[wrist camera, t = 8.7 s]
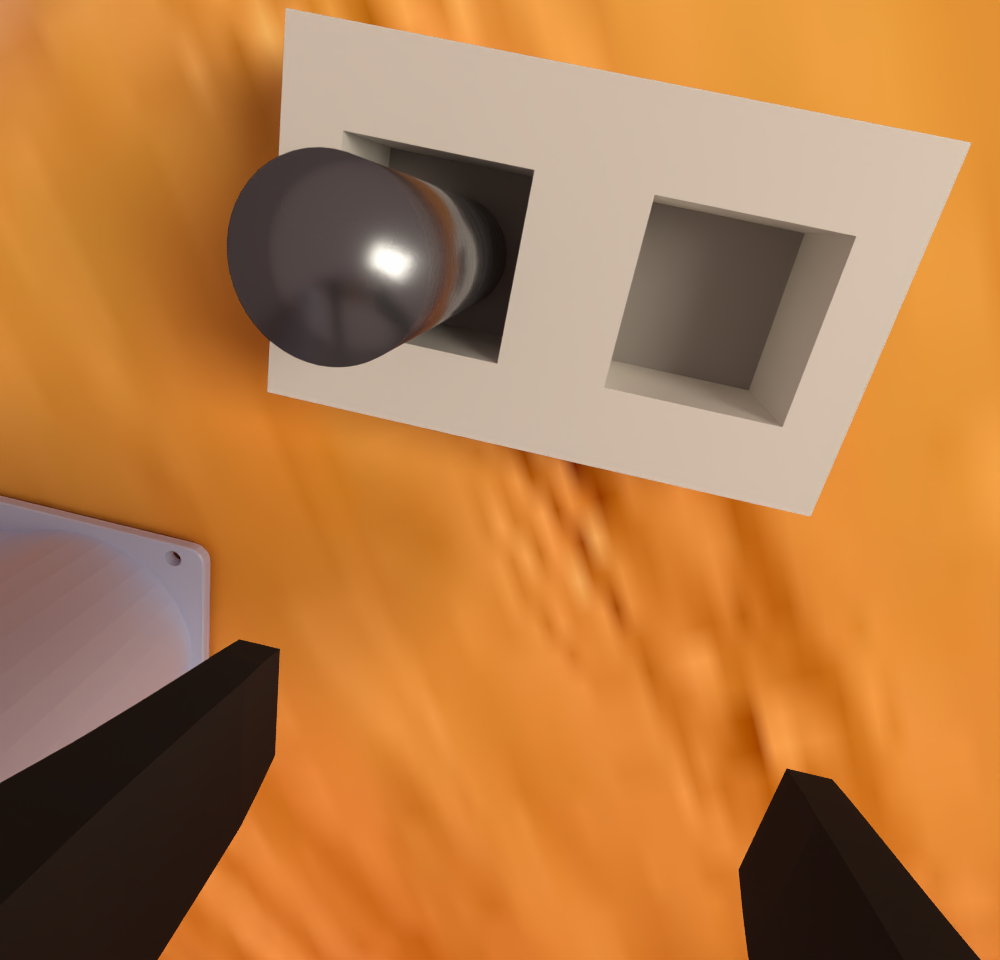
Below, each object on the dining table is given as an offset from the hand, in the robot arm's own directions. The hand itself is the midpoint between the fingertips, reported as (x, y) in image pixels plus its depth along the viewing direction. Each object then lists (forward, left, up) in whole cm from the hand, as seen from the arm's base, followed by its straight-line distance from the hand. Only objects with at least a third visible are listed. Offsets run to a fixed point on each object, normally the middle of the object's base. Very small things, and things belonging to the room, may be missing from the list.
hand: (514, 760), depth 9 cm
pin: (-4, +6, -9) cm, 11 cm away
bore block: (-1, +6, -9) cm, 11 cm away
